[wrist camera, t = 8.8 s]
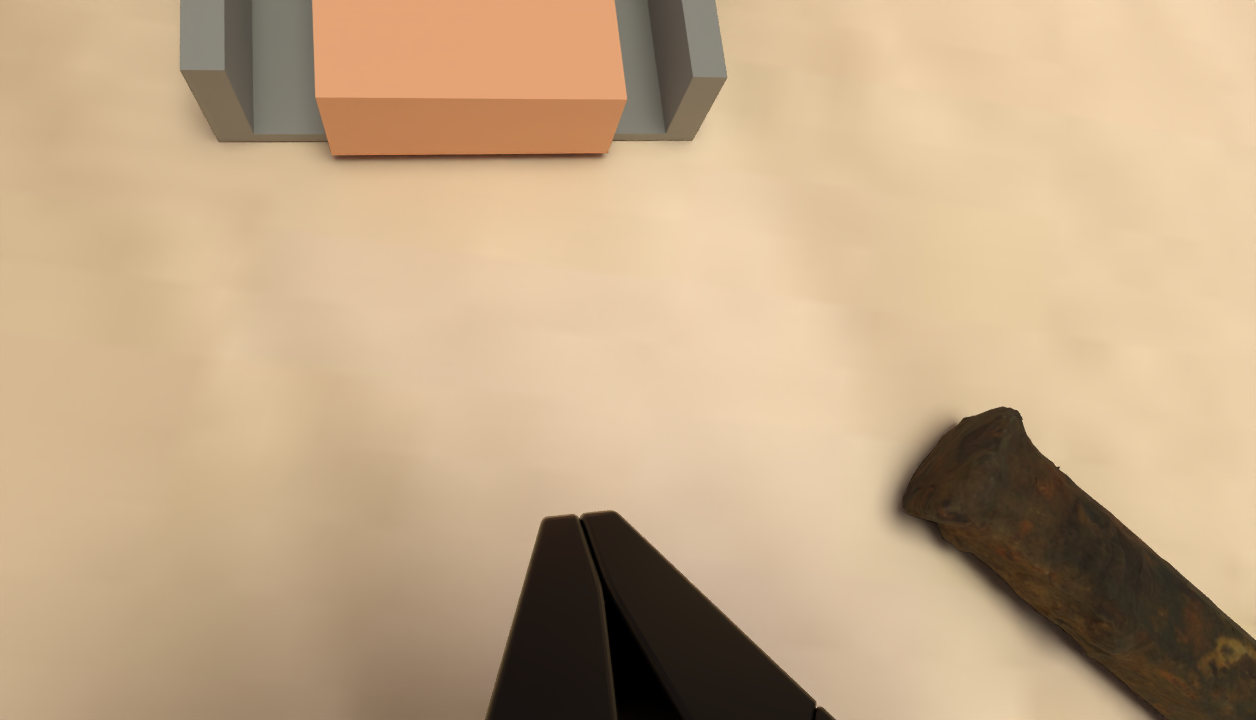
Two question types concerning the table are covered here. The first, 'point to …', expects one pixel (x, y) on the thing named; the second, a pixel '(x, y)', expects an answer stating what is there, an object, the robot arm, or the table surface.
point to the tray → (285, 78)
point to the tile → (468, 76)
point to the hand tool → (1084, 570)
